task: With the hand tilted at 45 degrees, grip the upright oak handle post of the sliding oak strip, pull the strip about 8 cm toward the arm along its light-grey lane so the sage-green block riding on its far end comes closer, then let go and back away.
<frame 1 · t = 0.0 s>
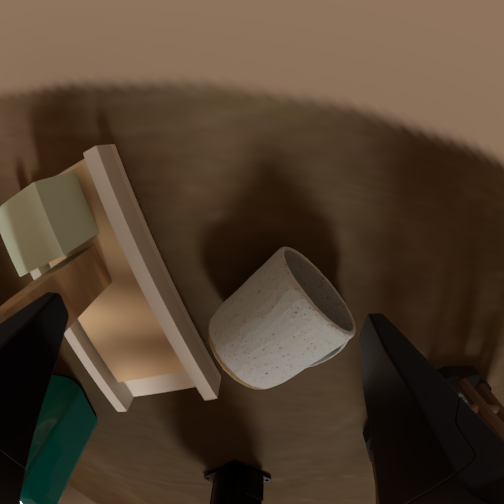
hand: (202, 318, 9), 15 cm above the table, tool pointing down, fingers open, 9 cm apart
block: (63, 214, 22), point 2 cm above the table, touching strip
lantern: (427, 417, 31), on the table
strip: (65, 322, 19), point 7 cm above the table, slide at 0.0 cm, touching block
ceramic mug: (291, 305, 26), on the table
lane board: (114, 291, 26), on the table
green bottle: (62, 393, 32), on the table
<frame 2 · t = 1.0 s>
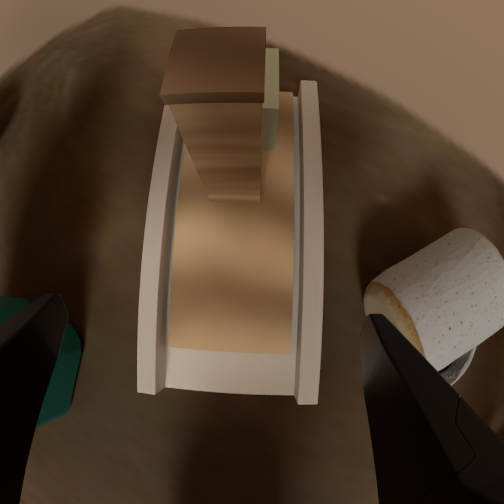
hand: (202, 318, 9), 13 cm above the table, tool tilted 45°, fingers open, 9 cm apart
block: (240, 118, 22), point 2 cm above the table, touching strip
strip: (227, 171, 16), point 7 cm above the table, slide at 0.0 cm, touching block
ceramic mug: (420, 321, 21), on the table
lane board: (236, 230, 23), on the table
green bottle: (41, 350, 21), on the table
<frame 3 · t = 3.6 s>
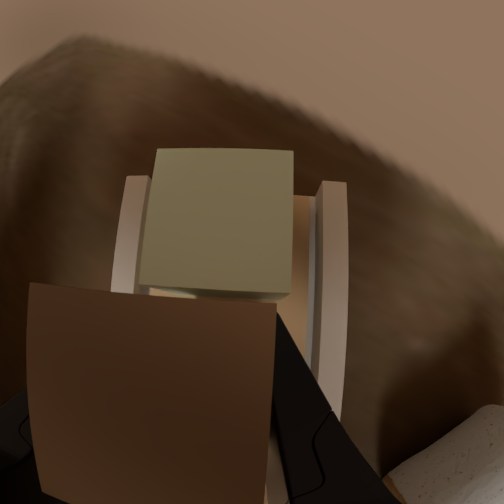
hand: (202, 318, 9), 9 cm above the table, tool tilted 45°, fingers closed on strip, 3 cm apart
block: (230, 245, 16), point 2 cm above the table, touching strip
strip: (204, 414, 9), point 7 cm above the table, slide at 0.0 cm, touching block, gripper
ceramic mug: (437, 476, 15), on the table
lane board: (225, 396, 16), on the table
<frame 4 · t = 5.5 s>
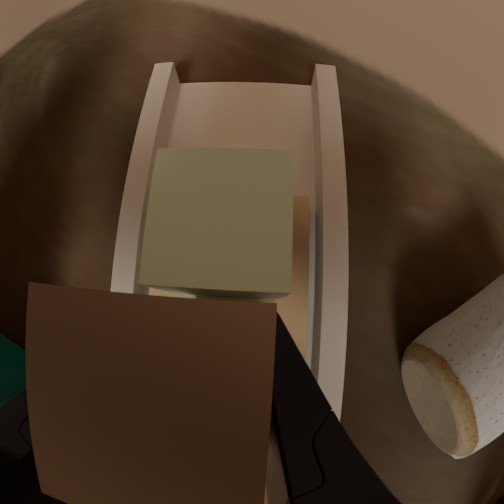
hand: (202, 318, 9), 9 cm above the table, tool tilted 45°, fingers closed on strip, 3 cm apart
block: (230, 245, 16), point 2 cm above the table, touching strip
strip: (204, 414, 9), point 7 cm above the table, slide at 7.9 cm, touching block, gripper
ceramic mug: (458, 374, 16), on the table
lane board: (233, 251, 18), on the table
green bottle: (8, 382, 16), on the table
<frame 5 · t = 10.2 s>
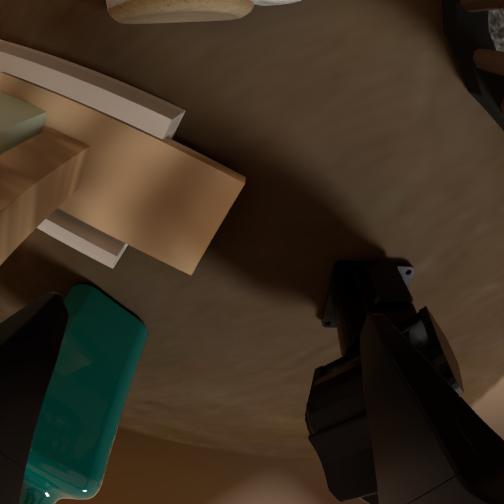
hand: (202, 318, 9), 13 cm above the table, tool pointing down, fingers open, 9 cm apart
block: (14, 134, 16), point 2 cm above the table, touching strip
strip: (38, 208, 13), point 7 cm above the table, slide at 8.1 cm, touching block
lane board: (28, 124, 18), on the table
green bottle: (96, 316, 28), on the table
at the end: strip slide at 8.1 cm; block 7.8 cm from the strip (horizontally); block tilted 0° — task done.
